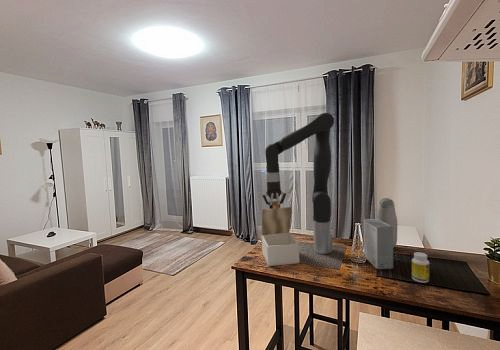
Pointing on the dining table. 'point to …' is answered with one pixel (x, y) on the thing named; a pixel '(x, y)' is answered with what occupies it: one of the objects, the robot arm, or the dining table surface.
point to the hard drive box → (378, 243)
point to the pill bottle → (420, 267)
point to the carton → (280, 249)
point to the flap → (276, 219)
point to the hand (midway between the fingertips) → (274, 211)
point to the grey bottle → (388, 216)
